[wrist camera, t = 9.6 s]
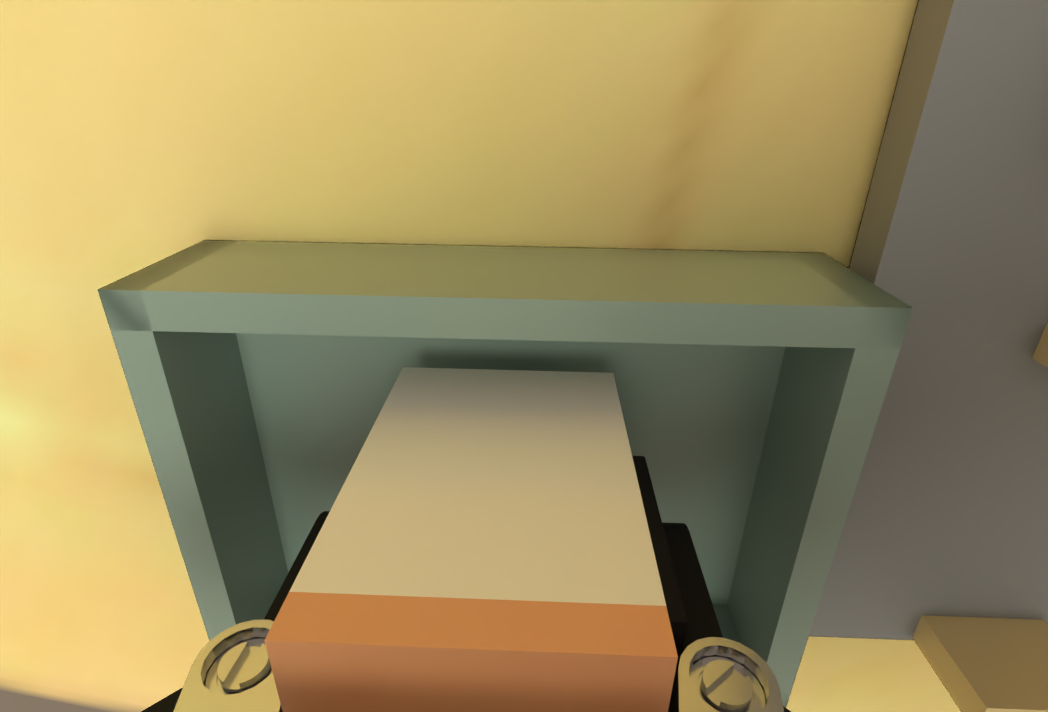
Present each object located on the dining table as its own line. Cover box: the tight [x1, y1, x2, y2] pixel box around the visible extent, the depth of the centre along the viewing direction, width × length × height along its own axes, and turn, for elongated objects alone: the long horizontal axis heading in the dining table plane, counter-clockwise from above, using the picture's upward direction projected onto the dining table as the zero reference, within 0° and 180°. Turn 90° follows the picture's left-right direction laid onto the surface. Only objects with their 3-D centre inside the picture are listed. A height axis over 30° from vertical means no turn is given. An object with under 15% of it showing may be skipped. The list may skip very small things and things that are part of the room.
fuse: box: [264, 367, 678, 712], centre depth 10 cm, size 4×6×6 cm, turn 179°
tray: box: [98, 240, 913, 708], centre depth 13 cm, size 13×10×3 cm
